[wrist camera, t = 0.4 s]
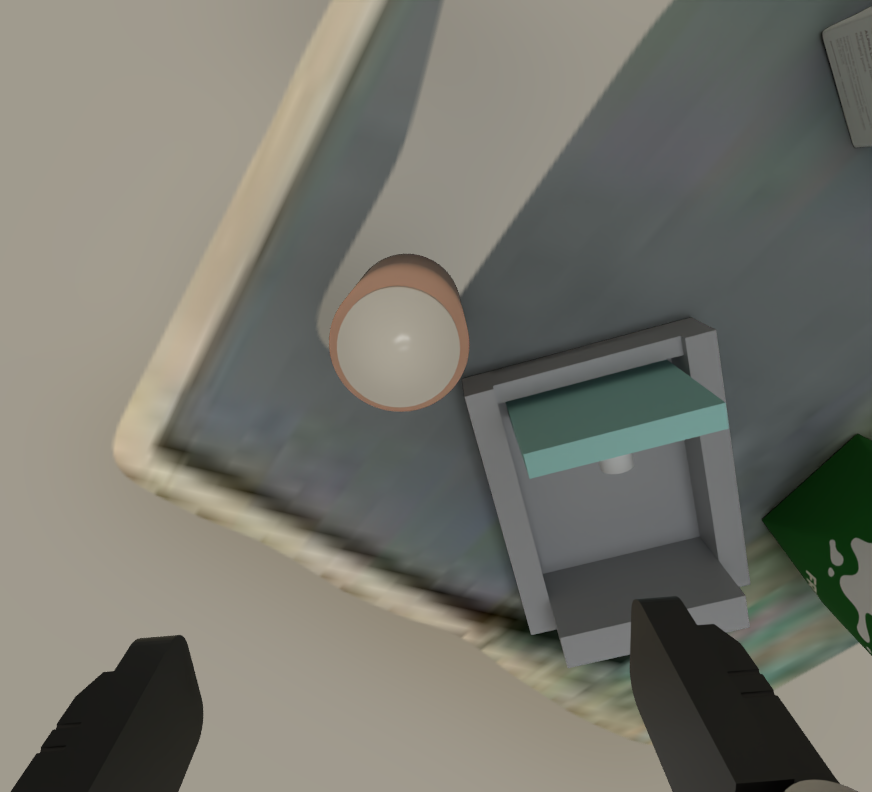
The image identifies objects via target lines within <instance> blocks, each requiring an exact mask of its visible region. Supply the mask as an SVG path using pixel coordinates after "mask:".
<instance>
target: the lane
mask: <svg viewBox="0 0 872 792" xmlns="http://www.w3.org/2000/svg"><path fill="white" fill-rule="evenodd" d="M666 359H667V360H668V361H670V362H671V363H672V364H674V365H675V366H676V367H678V368H679V369H680V370H682V371H683V372H684V373H686V374H687V375H689V376H690V377H691V378H693V379H694V380H695V381H697V382H698V383H699V384H701V385H702V386H704V387H705V388H706V389H708V390H709V391H710V392H712V393H713V394H714V395H716V396H717V397H719V398H720V399H721V400H723V401H724V402H725V403H726V399H725V392H724V384H723V377H722V370H721V362H720V355H719V347H718V340H717V332H716V330H715V329H713V328H711V327H709V326H707V325H705V324H703V323H701V322H699V321H697V320H695V319H693V318H687V319H683V320H679V321H676V322H672V323H668V324H664V325H661V326H657V327H653V328H650V329H646V330H642V331H638V332H635V333H631V334H627V335H624V336H620V337H616V338H612V339H609V340H605V341H601V342H598V343H594V344H590V345H586V346H583V347H579V348H575V349H571V350H568V351H564V352H560V353H557V354H553V355H549V356H545V357H542V358H538V359H534V360H531V361H527V362H523V363H519V364H516V365H512V366H508V367H505V368H501V369H497V370H493V371H490V372H486V373H482V374H478V375H475V376H471V377H467V378H464V379H462V384H463V391H464V397H465V401H466V404H467V408H468V411H469V415H470V418H471V422H472V426H473V429H474V433H475V436H476V440H477V443H478V447H479V450H480V454H481V458H482V461H483V465H484V468H485V472H486V475H487V479H488V482H489V486H490V490H491V493H492V497H493V500H494V504H495V507H496V511H497V515H498V518H499V522H500V525H501V529H502V532H503V536H504V539H505V543H506V547H507V550H508V554H509V557H510V561H511V564H512V568H513V571H514V575H515V579H516V582H517V586H518V589H519V593H520V596H521V600H522V603H523V607H524V611H525V614H526V618H527V621H528V625H529V628H530V632H531V635H533V634H538V633H542V632H546V631H551V630H555V629H557V631H558V635H559V638H560V642H561V645H562V649H563V652H564V656H565V659H566V663H567V667H568V668H571V667H575V666H580V665H584V664H588V663H593V662H597V661H602V660H606V659H611V658H615V657H620V656H624V655H628V654H630V639H631V607H632V602H633V600H635V599H644V598H656V597H668V596H677V597H679V598H680V599H681V601H682V602H683V603H684V605H685V607H686V608H687V610H688V611H689V613H690V614H691V616H692V618H693V619H694V621H695V622H696V624H697V625H706V624H715V625H716V626H718V627H719V628H720V629H722V630H723V631H724V632H731V631H735V630H740V629H744V628H749V627H750V625H749V618H748V610H747V603H746V596H745V594H744V593H743V592H742V590H741V589H740V588H739V587H741V586H746V585H750V578H749V570H748V563H747V555H746V548H745V540H744V533H743V526H742V518H741V511H740V503H739V496H738V488H737V481H736V474H735V466H734V459H733V451H732V444H731V436H730V429H725V430H721V431H718V432H714V433H710V434H706V435H702V436H698V437H694V438H690V439H686V440H682V441H678V442H674V443H670V444H666V445H662V446H658V447H654V448H650V449H646V450H642V451H638V452H634V453H632V455H633V460H634V466H633V468H632V469H630V470H629V471H627V472H624V473H620V474H606V473H604V472H602V471H601V470H600V466H599V462H595V463H591V464H587V465H583V466H579V467H575V468H571V469H567V470H563V471H559V472H555V473H551V474H547V475H543V476H539V477H535V478H531V479H529V476H528V473H527V470H526V467H525V464H524V461H523V458H522V455H521V452H520V449H519V446H518V443H517V439H516V436H515V433H514V430H513V427H512V424H511V421H510V418H509V414H508V410H507V406H506V402H507V401H511V400H515V399H519V398H522V397H526V396H530V395H534V394H537V393H541V392H545V391H549V390H553V389H556V388H560V387H564V386H568V385H572V384H575V383H579V382H583V381H587V380H590V379H594V378H598V377H602V376H606V375H609V374H613V373H617V372H621V371H625V370H628V369H632V368H636V367H640V366H644V365H647V364H651V363H655V362H659V361H662V360H666ZM726 409H727V407H726ZM727 417H728V414H727ZM728 424H729V422H728Z"/></svg>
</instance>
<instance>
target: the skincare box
mask: <svg viewBox="0 0 872 792" xmlns="http://www.w3.org/2000/svg"><path fill="white" fill-rule="evenodd" d="M823 40H824V44H825V48H826V51H827V55H828V59H829V62H830V65H831V69H832V72H833V76H834V79H835V83H836V87H837V90H838V94H839V97H840V101H841V104H842V108H843V112H844V116H845V119H846V122H847V126H848V129H849V132H850V136H851V140H852V143H853V145H854V147H856V148H858V147H870V146H872V6H871V7H869V8H867V9H865V10H863V11H861V12H860V13H858V14H856V15H854V16H851V17H849V18H847V19H845V20H843V21H841V22H838V23H836V24H834V25H832V26H830V27H828V28H827V29H825V30H824V31H823Z"/></svg>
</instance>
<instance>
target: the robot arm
mask: <svg viewBox="0 0 872 792" xmlns="http://www.w3.org/2000/svg"><path fill="white" fill-rule="evenodd" d="M630 678H631V685H632V690H633V694H634V698H635V701H636V705H637V707H638V710H639V712H640V715H641V717H642V719H643V722H644V724H645V727H646V729H647V731H648V734H649V736H650V739H651V741H652V743H653V746H654V748H655V750H656V753H657V755H658V757H659V760H660V762H661V765H662V767H663V770H664V772H665V774H666V777H667V779H668V782H669V784H670V786H671V789H672V791H673V792H858V791H855V790H854V789H852V788H849V787H847V786H844V785H841V784H840V783H839V782H838V781H837V779H836V778H835V777H834V775H833V774H832V773H831V771H830V770H829V768H828V767H827V766H826V764H825V763H824V761H823V760H822V758H821V757H820V755H819V754H818V753H817V751H816V750H815V748H814V747H813V745H812V744H811V743H810V741H809V740H808V738H807V737H806V736H805V734H804V733H803V731H802V730H801V728H800V727H799V726H798V724H797V723H796V721H795V720H794V718H793V717H792V716H791V714H790V713H789V711H788V710H787V709H786V707H785V706H784V704H783V703H782V702H781V700H780V699H779V697H778V696H775V695H774V691H773V689H772V687H771V686H770V684H769V683H768V682H767V680H766V679H765V677H764V676H763V674H760V673H759V669H758V667H757V666H756V665H755V663H754V662H753V660H752V659H751V657H750V656H749V655H748V653H747V652H746V650H745V649H744V647H743V646H742V645H741V644H740V643H739V642H738V641H736V640H735V639H734V638H732V637H731V636H730V635H728V634H727V633H726V632H724V631H723V630H722V629H720V628H719V627H718V626H716V625H715V624H706V625H697V624H696V622H695V621H694V619H693V618H692V616H691V614H690V613H689V611H688V610H687V608H686V607H685V605H684V603H683V602H682V601H681V599H680V598H679V597H677V596H668V597H656V598H644V599H635V600H633V602H632V607H631V639H630ZM202 724H203V704H202V698H201V695H200V691H199V687H198V683H197V679H196V676H195V671H194V667H193V663H192V660H191V656H190V652H189V648H188V644H187V642H186V640H185V638H184V637H183V636H181V635H175V636H164V637H151V638H140V639H137V640H135V641H134V642H133V643H132V644H131V646H130V647H129V649H128V650H127V652H126V654H125V655H124V657H123V658H122V660H121V661H120V663H119V664H118V666H117V667H116V669H115V671H112V672H103V673H102V674H101V675H100V676H99V677H98V678H96V679H95V680H94V681H93V682H92V683H91V684H89V685H88V686H87V687H86V688H85V689H84V690H83V691H82V692H81V693H79V694H78V695H77V696H76V697H75V699H74V700H73V701H72V703H71V704H70V706H69V707H68V709H67V710H66V712H65V713H64V714H63V716H62V717H61V719H60V720H59V722H58V723H57V728H56V730H52V732H51V734H50V735H49V736H48V738H47V739H46V741H45V742H44V744H43V745H42V747H41V752H40V753H37V754H36V755H35V757H34V758H33V760H32V761H31V763H30V764H29V766H28V767H27V768H26V770H25V771H24V773H23V774H22V776H21V777H20V779H19V780H18V782H17V783H16V785H15V786H14V787H13V789H12V791H11V792H178V791H179V788H180V786H181V784H182V781H183V779H184V776H185V774H186V771H187V769H188V766H189V764H190V761H191V759H192V757H193V754H194V752H195V749H196V747H197V744H198V742H199V739H200V735H201V730H202Z"/></svg>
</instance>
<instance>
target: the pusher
mask: <svg viewBox="0 0 872 792" xmlns="http://www.w3.org/2000/svg"><path fill="white" fill-rule="evenodd" d="M506 406H507V410H508V414H509V418H510V421H511V424H512V427H513V430H514V433H515V436H516V439H517V443H518V446H519V449H520V452H521V455H522V458H523V461H524V464H525V467H526V470H527V473H528V476H529V479H531V478H535V477H539V476H543V475H547V474H551V473H555V472H559V471H563V470H567V469H571V468H575V467H579V466H583V465H587V464H591V463H595V462H599V466H600V470H601V471H602V472H604V473H606V474H620V473H624V472H627V471H629V470H630V469H632V468H633V466H634V460H633V455H632V453H634V452H638V451H642V450H646V449H650V448H654V447H658V446H662V445H666V444H670V443H674V442H678V441H682V440H686V439H690V438H694V437H698V436H702V435H706V434H710V433H714V432H718V431H721V430H725V429H729V424H728V417H727V409H726V403H725V402H724V401H723V400H721V399H720V398H719V397H717V396H716V395H714V394H713V393H712V392H710V391H709V390H708V389H706V388H705V387H704V386H702V385H701V384H699V383H698V382H697V381H695V380H694V379H693V378H691V377H690V376H689V375H687V374H686V373H684V372H683V371H682V370H680V369H679V368H678V367H676V366H675V365H674V364H672V363H671V362H670V361H668V360H667V359H666V360H662V361H659V362H655V363H651V364H647V365H644V366H640V367H636V368H632V369H628V370H625V371H621V372H617V373H613V374H609V375H606V376H602V377H598V378H594V379H590V380H587V381H583V382H579V383H575V384H572V385H568V386H564V387H560V388H556V389H553V390H549V391H545V392H541V393H537V394H534V395H530V396H526V397H522V398H519V399H515V400H511V401H507V402H506Z"/></svg>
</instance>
